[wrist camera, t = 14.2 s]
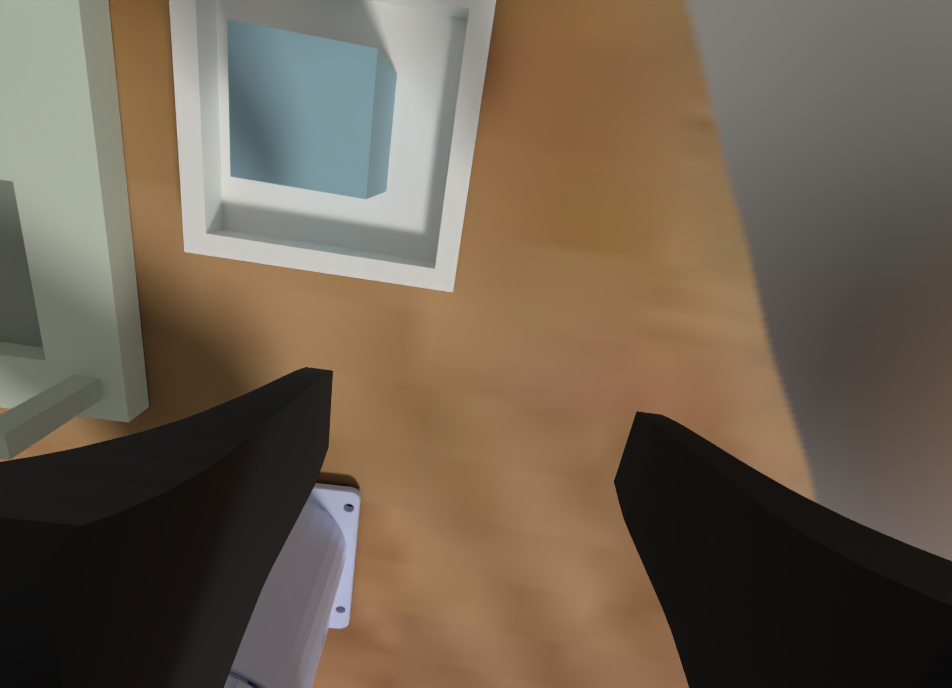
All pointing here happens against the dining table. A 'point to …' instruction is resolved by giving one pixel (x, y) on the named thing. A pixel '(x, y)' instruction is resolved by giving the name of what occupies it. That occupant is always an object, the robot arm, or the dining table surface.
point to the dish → (411, 152)
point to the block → (309, 111)
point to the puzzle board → (63, 226)
